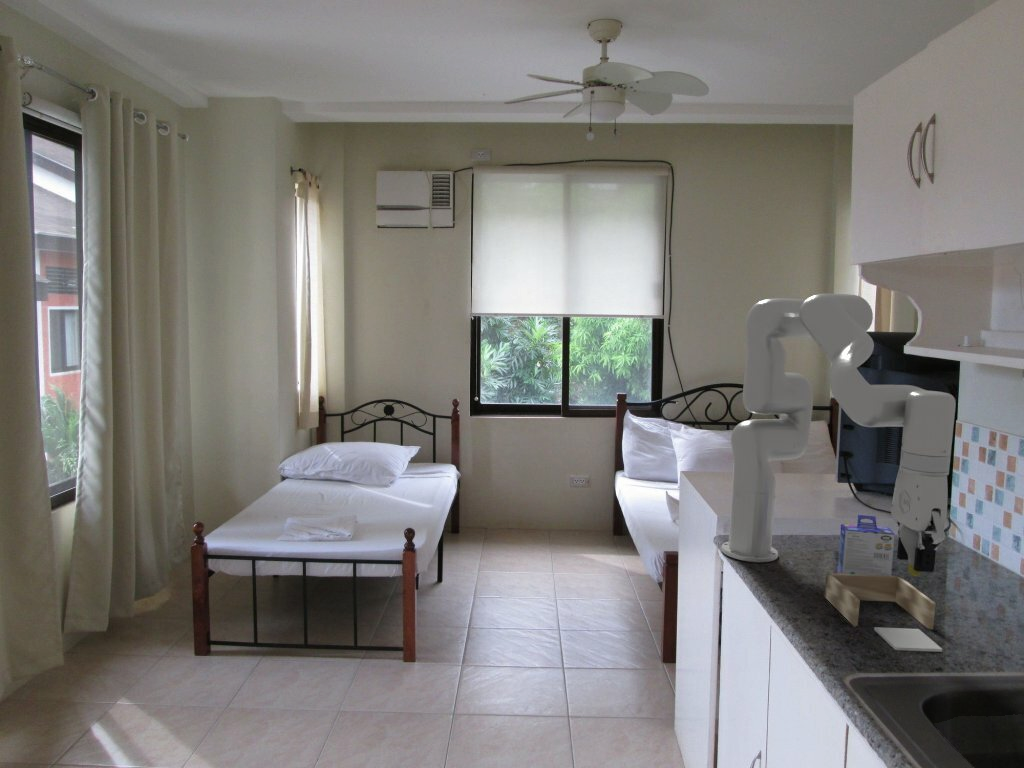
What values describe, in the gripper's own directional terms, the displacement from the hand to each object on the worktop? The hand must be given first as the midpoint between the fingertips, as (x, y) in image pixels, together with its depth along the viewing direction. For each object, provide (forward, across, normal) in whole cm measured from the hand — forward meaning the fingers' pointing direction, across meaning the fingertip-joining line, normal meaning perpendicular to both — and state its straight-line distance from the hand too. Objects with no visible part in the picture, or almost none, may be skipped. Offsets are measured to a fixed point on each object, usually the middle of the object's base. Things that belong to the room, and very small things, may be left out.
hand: (914, 564), depth 135 cm
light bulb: (+2, 0, 0) cm, 2 cm away
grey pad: (+14, 0, 0) cm, 14 cm away
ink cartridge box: (+14, -27, +4) cm, 31 cm away
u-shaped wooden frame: (+14, -12, 0) cm, 18 cm away
